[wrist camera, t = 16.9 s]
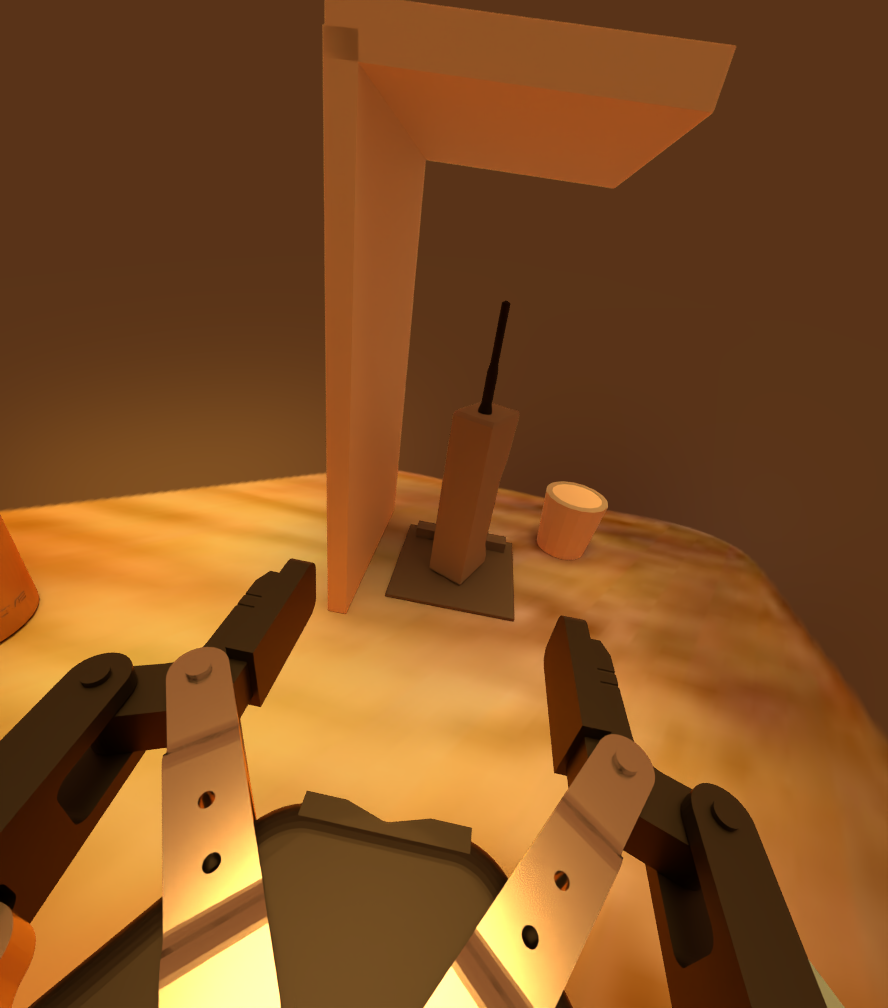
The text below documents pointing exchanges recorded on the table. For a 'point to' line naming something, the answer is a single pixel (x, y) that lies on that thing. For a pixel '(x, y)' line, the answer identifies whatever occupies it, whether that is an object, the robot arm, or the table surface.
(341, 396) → the overhang shelf
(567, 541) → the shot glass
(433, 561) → the vintage mobile phone
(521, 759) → the table surface
